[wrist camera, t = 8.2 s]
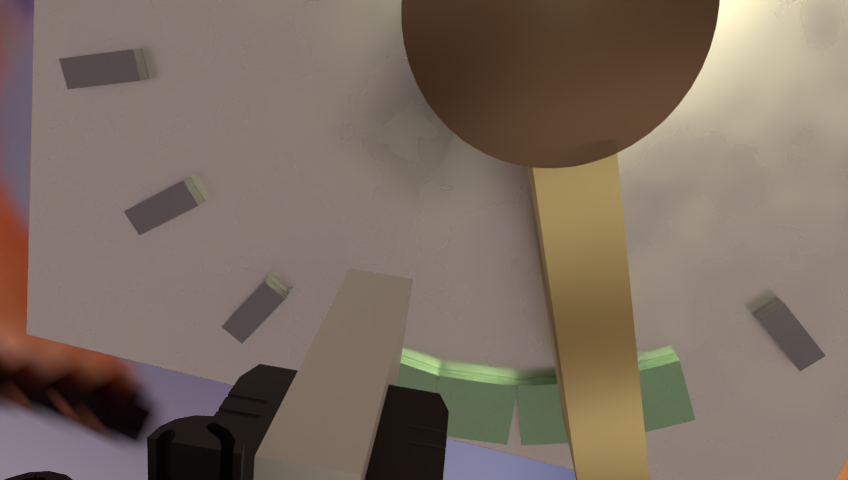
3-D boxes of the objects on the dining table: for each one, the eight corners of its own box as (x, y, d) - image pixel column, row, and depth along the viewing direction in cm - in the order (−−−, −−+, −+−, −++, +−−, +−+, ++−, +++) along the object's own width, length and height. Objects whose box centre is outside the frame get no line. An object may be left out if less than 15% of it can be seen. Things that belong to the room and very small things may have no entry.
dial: (393, -92, 17) (371, -123, 14) (658, -153, 17) (711, -204, 13) (499, 470, 23) (504, 558, 19) (699, 449, 22) (744, 537, 18)
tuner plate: (84, -814, 16) (-1, -995, 13) (1339, -493, 16) (1527, -604, 13) (45, 320, 26) (-6, 356, 24) (794, 506, 27) (832, 564, 24)
